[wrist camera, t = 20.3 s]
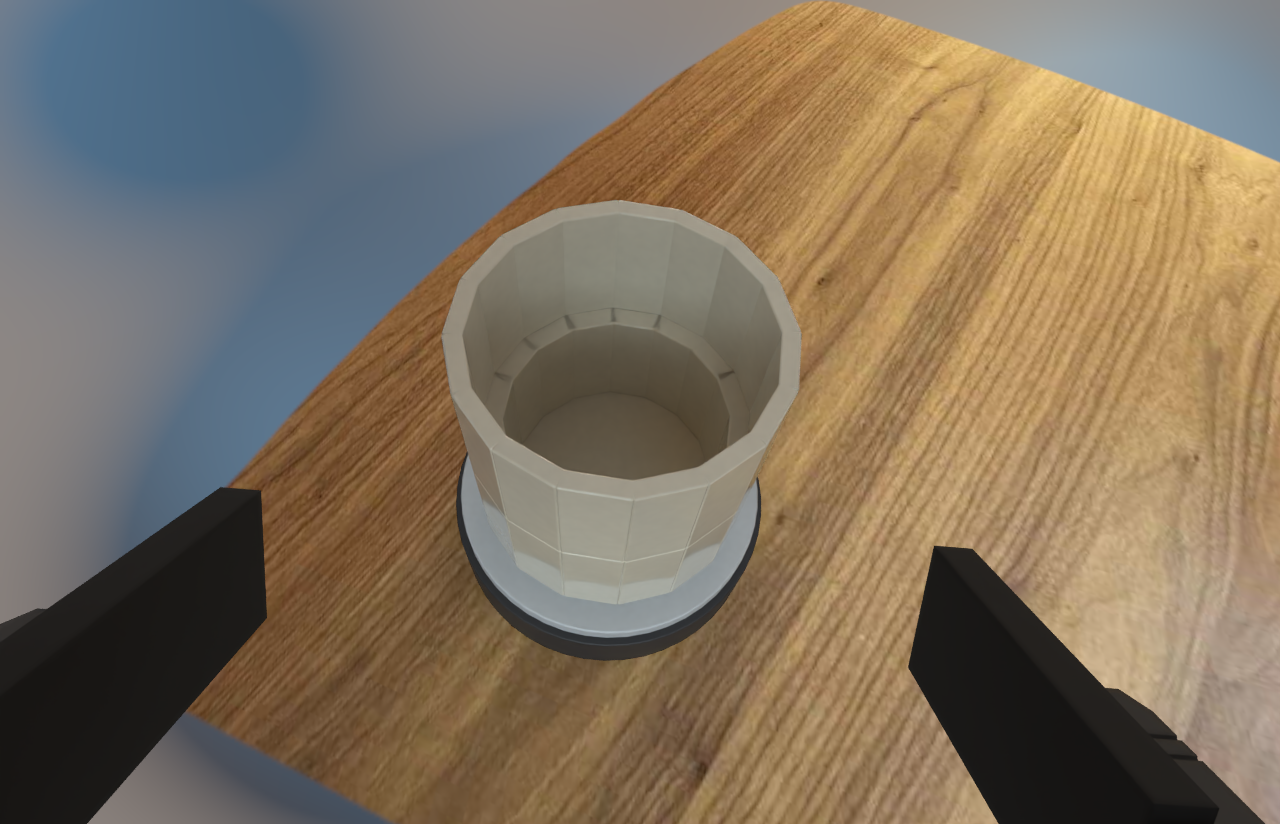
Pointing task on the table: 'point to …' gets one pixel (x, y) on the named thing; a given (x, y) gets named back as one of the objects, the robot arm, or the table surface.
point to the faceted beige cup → (618, 392)
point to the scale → (590, 622)
